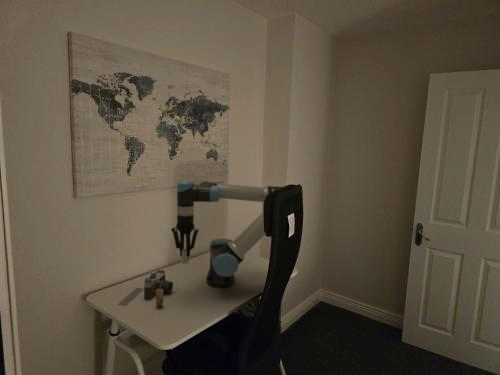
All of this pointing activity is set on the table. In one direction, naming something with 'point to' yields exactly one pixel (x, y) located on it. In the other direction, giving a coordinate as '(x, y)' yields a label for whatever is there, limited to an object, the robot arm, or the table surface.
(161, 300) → the brown rounded cylinder
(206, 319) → the table surface
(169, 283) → the camera
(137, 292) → the strip
